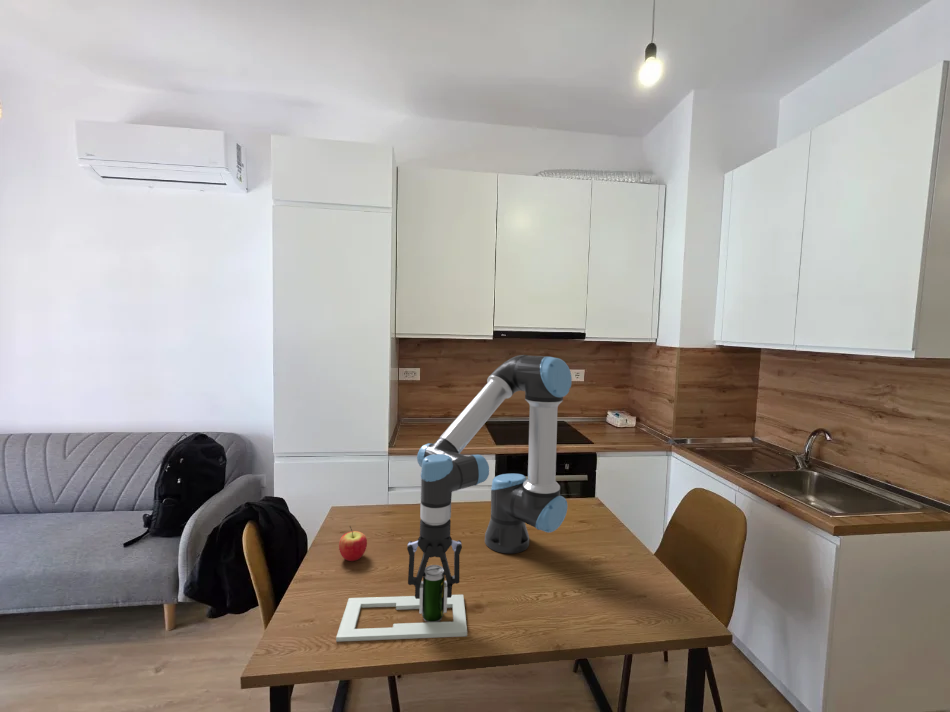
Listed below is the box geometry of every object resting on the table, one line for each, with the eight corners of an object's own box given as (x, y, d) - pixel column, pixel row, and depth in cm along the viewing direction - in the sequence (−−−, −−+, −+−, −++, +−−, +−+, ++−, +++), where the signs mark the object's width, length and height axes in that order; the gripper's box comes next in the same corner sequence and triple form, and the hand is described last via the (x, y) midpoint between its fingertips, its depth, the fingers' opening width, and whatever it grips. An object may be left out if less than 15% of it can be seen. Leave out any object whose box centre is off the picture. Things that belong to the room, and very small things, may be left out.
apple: (355, 548, 134) (355, 518, 134) (372, 557, 129) (373, 526, 129) (333, 559, 128) (333, 528, 127) (350, 569, 123) (351, 536, 122)
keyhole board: (463, 598, 111) (463, 594, 111) (467, 636, 97) (467, 632, 97) (348, 601, 108) (348, 598, 108) (336, 641, 94) (336, 637, 94)
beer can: (423, 625, 100) (424, 577, 99) (420, 611, 105) (421, 565, 104) (445, 622, 101) (446, 575, 101) (441, 608, 107) (442, 563, 106)
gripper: (471, 511, 106) (468, 598, 108) (399, 512, 105) (397, 600, 106) (473, 525, 99) (470, 618, 100) (396, 526, 97) (394, 621, 98)
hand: (433, 609), depth 103 cm, fingers closed on beer can, 5 cm apart
